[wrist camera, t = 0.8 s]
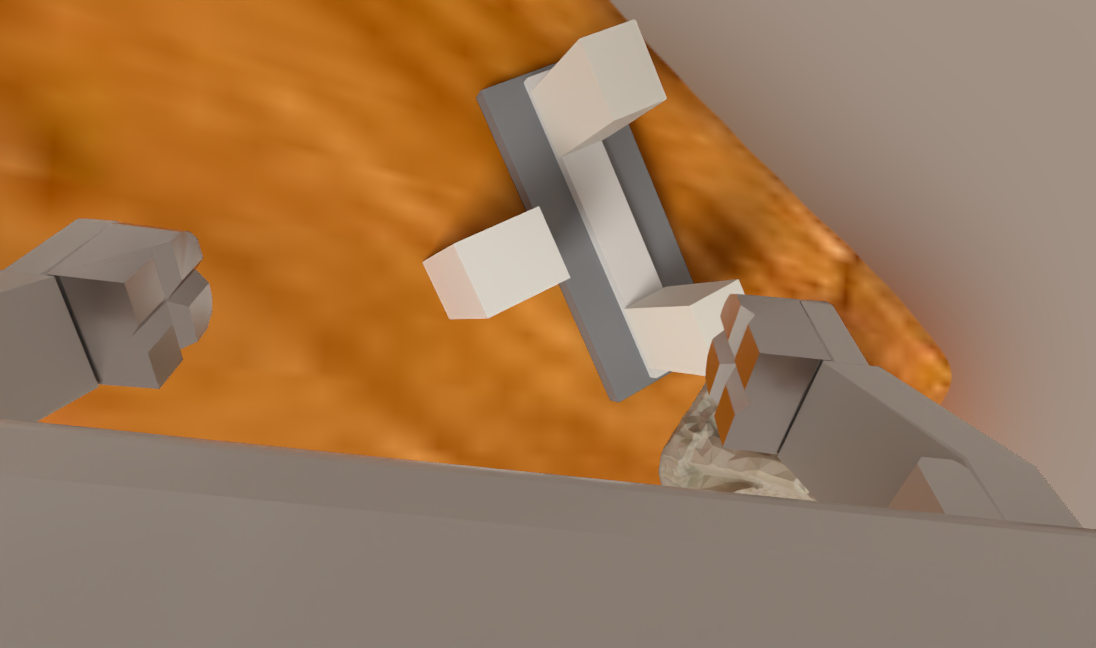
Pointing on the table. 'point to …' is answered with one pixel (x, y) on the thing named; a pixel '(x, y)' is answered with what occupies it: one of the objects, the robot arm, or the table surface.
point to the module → (497, 267)
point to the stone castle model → (722, 460)
